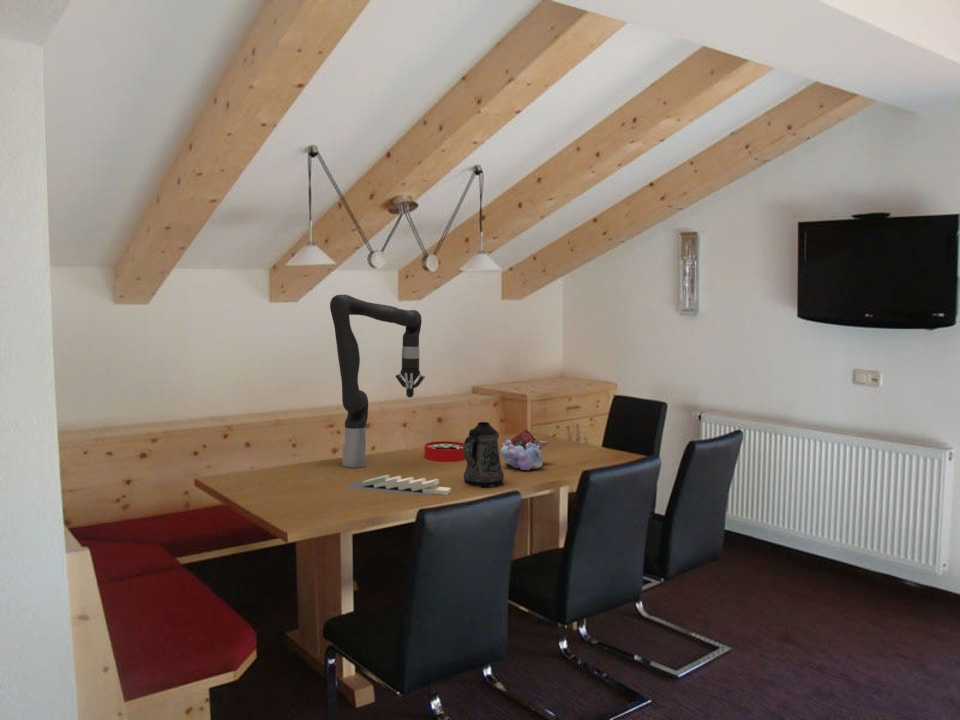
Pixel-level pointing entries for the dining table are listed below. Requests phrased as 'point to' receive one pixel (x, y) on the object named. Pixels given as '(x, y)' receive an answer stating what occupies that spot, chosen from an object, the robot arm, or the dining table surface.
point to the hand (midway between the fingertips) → (409, 397)
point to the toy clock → (444, 451)
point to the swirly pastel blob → (523, 451)
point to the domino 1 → (375, 480)
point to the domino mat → (383, 488)
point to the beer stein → (482, 457)
